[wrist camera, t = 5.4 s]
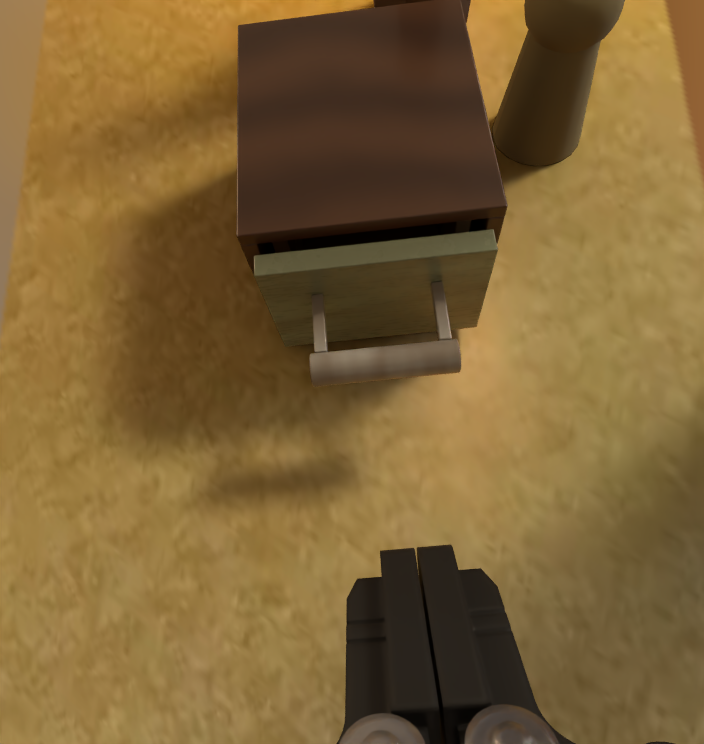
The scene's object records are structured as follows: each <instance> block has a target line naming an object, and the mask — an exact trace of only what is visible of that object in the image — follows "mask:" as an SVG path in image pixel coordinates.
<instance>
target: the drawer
mask: <svg viewBox="0 0 704 744" xmlns="http://www.w3.org/2000/svg"><path fill="white" fill-rule="evenodd" d="M470 225H471V220H467V221H458V222H449V223H440V224H431V225H422V226H413V227H404V228H395V229H386V230H377V231H368V232H359V233H350V234H341V235H332V236H323V237H314V238H305V239H296V240H287V241H277V242H272V244H273V247H274V250H275V253H273V254H264V255H255V256H254V277H255V279H256V281H257V284H258V286H259V288H260V290H261V293H262V295H263V297H264V300H265V302H266V304H267V306H268V309H269V311H270V313H271V315H272V318H273V320H274V322H275V324H276V327H277V329H278V331H279V333H280V336H281V338H282V340H283V342H284V345H285V346H296V345H306V344H314V352H315V353H312V354H310V358H309V363H310V375H311V381H312V384H313V386H314V387H318V386H328V385H338V384H348V383H358V382H368V381H378V380H388V379H398V378H409V377H419V376H429V375H439V374H449V373H459V372H460V370H461V354H460V347H459V343H458V340H457V339H452V336H451V330H452V329H462V328H471V327H477V323H478V319H479V316H480V312H481V309H482V305H483V301H484V298H485V294H486V291H487V287H488V283H489V280H490V276H491V273H492V269H493V265H494V262H495V258H496V255H497V251H498V248H497V243H496V238H495V233H494V230H493V229H491V230H482V231H472V232H469V231H470ZM433 331H437V336H438V341H430V342H420V343H411V344H401V345H391V346H381V347H371V348H361V349H352V350H342V351H332V352H328V347H327V342H335V341H345V340H355V339H364V338H374V337H384V336H394V335H403V334H413V333H423V332H433Z"/></svg>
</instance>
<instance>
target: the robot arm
mask: <svg viewBox="0 0 704 744" xmlns="http://www.w3.org/2000/svg"><path fill="white" fill-rule="evenodd" d="M380 558H381V572H382V577H374V578H362V579H357V580H356V582H355V584H354V586H353V588H352V590H351V592H350V594H349V596H348V597H347V626H346V642H347V644H346V706H345V724H344V728H343V732H342V734H341V736H340V739H339V741H338V742H337V744H575V743H573V742H571V741H570V740H568V739H566V738H565V737H563V736H562V735H561V734H559V733H558V732H557V731H556V730H554V729H553V728H552V727H551V726H550V725H549V724H548V722H547V721H546V720H545V718H544V717H543V716H542V714H541V712H540V711H539V709H538V707H537V704H536V702H535V699H534V696H533V693H532V690H531V687H530V684H529V681H528V678H527V675H526V672H525V669H524V666H523V663H522V660H521V657H520V654H519V651H518V648H517V645H516V642H515V639H514V636H513V633H512V631H511V626H510V623H509V620H508V617H507V614H506V613H505V609H504V605H503V602H502V599H501V596H500V593H499V590H498V587H497V586H496V584H495V583H494V582H493V581H492V580H491V579H490V578H489V577H488V576H487V575H486V574H485V572H484V571H483V570H482V569H481V568H480V569H468V570H458V567H457V563H456V559H455V555H454V551H453V547H452V545H440V546H428V547H417V560H418V569H417V562H416V556H415V550H414V548H407V549H395V550H383V551H380ZM418 573H419V575H418ZM646 744H674V743H669V742H650V743H646Z"/></svg>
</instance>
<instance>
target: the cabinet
mask: <svg viewBox="0 0 704 744" xmlns="http://www.w3.org/2000/svg"><path fill="white" fill-rule="evenodd" d="M507 206H508V205H507V201H506V196H505V192H504V188H503V183H502V179H501V175H500V170H499V166H498V162H497V157H496V153H495V148H494V144H493V140H492V135H491V131H490V127H489V122H488V118H487V114H486V109H485V105H484V100H483V96H482V92H481V87H480V83H479V79H478V74H477V70H476V66H475V61H474V57H473V53H472V48H471V44H470V39H469V35H468V31H467V26H466V22H465V18H464V13H463V9H462V5H461V0H431V1H423V2H415V3H407V4H400V5H392V6H384V7H376V8H368V9H361V10H353V11H345V12H337V13H330V14H322V15H314V16H306V17H298V18H291V19H283V20H275V21H267V22H259V23H252V24H244V25H238V105H237V238H238V240H239V242H240V244H241V247H242V250H243V252H244V254H245V256H246V259H247V261H248V263H249V265H250V268H251V270H252V272H253V274H254V256H255V255H264V254H273V253H275V250H274V247H273V244H272V242H277V241H287V240H296V239H305V238H314V237H323V236H332V235H341V234H350V233H359V232H368V231H377V230H386V229H395V228H404V227H413V226H422V225H431V224H440V223H449V222H458V221H467V220H471V225H470V231H469V232H472V231H482V230H491V229H493V230H494V233H495V238H496V243H498V239H499V235H500V232H501V228H502V224H503V221H504V217H505V213H506V209H507Z"/></svg>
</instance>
